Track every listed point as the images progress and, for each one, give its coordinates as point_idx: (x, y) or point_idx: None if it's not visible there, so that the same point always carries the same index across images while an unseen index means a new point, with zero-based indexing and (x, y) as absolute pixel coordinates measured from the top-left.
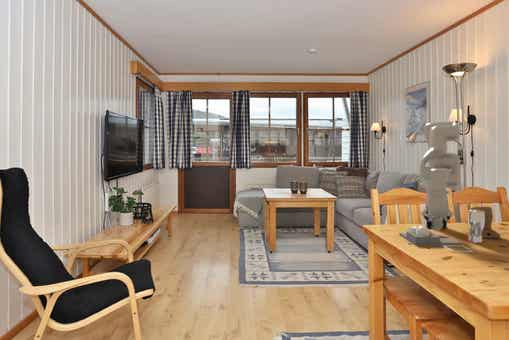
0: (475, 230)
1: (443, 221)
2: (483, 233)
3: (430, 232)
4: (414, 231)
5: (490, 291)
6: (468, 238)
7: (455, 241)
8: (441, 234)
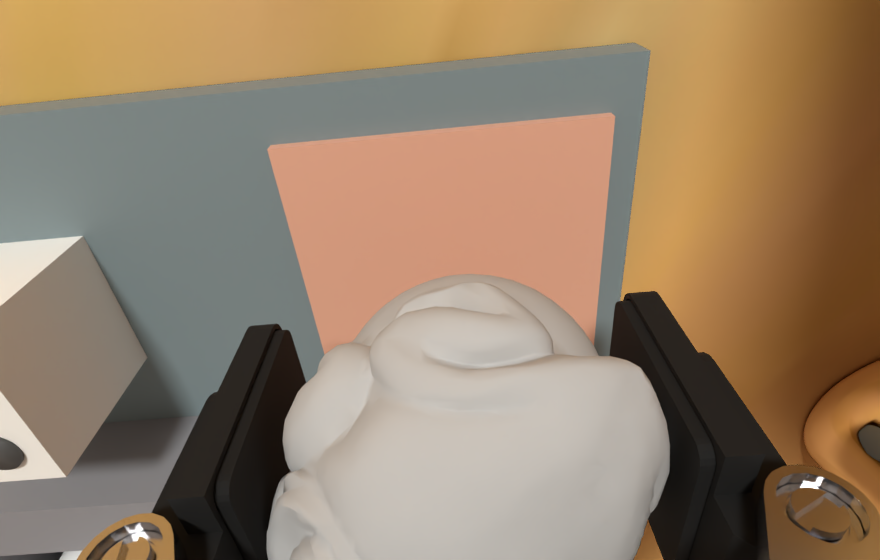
0: None
1: (681, 536)
2: None
3: None
4: (3, 518)
5: None
6: (850, 421)
7: None
8: (565, 252)
